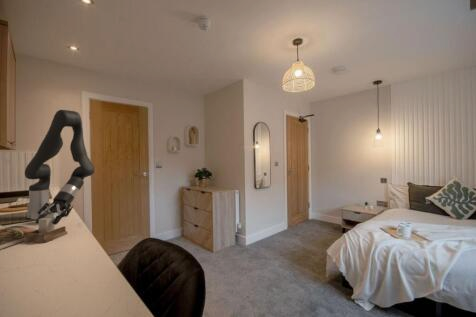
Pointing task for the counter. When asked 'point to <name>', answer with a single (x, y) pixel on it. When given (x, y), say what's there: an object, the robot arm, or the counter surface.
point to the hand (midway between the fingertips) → (45, 223)
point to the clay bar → (46, 225)
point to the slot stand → (45, 235)
